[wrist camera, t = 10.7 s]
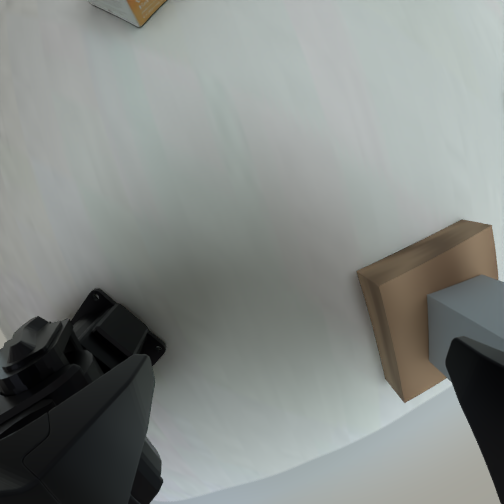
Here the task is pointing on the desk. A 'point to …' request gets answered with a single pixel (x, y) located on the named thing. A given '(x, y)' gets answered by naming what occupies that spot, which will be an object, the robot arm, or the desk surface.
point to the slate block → (465, 316)
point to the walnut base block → (420, 298)
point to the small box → (130, 9)
